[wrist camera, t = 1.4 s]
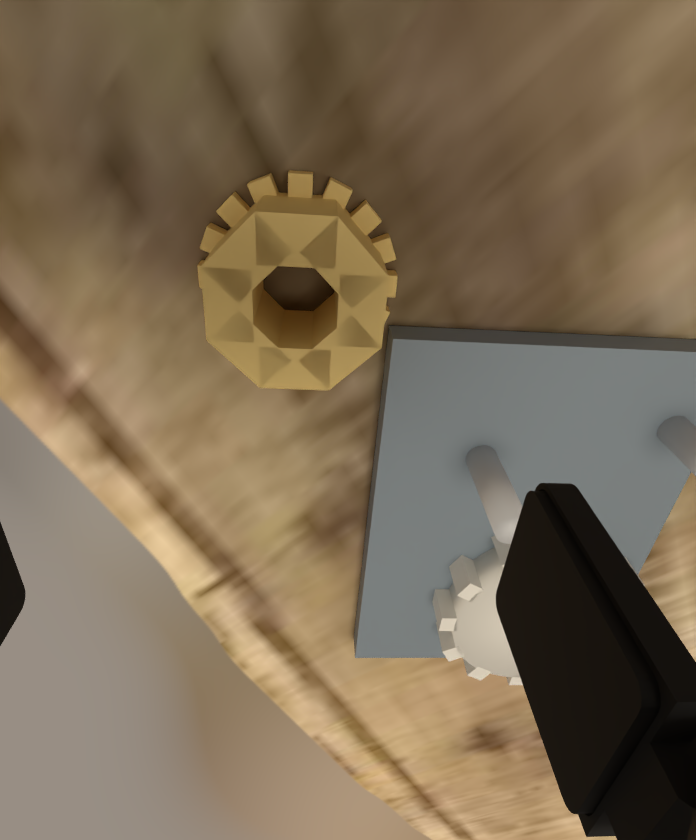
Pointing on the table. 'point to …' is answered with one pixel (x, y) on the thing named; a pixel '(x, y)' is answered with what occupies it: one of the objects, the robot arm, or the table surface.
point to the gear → (296, 247)
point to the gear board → (508, 471)
